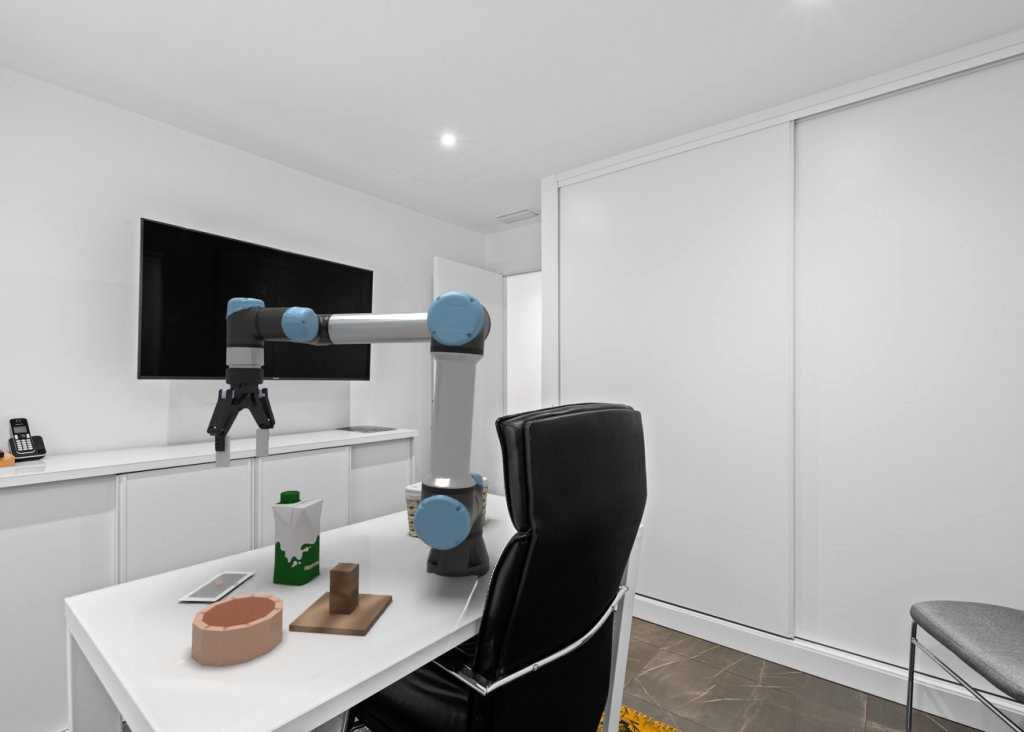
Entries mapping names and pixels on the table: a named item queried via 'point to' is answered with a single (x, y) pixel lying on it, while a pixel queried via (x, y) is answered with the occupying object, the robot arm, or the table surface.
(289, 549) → the milk carton
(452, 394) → the robot arm
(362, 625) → the cover board
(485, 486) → the storage basket
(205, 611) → the bowl
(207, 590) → the touchpad
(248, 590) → the table surface
